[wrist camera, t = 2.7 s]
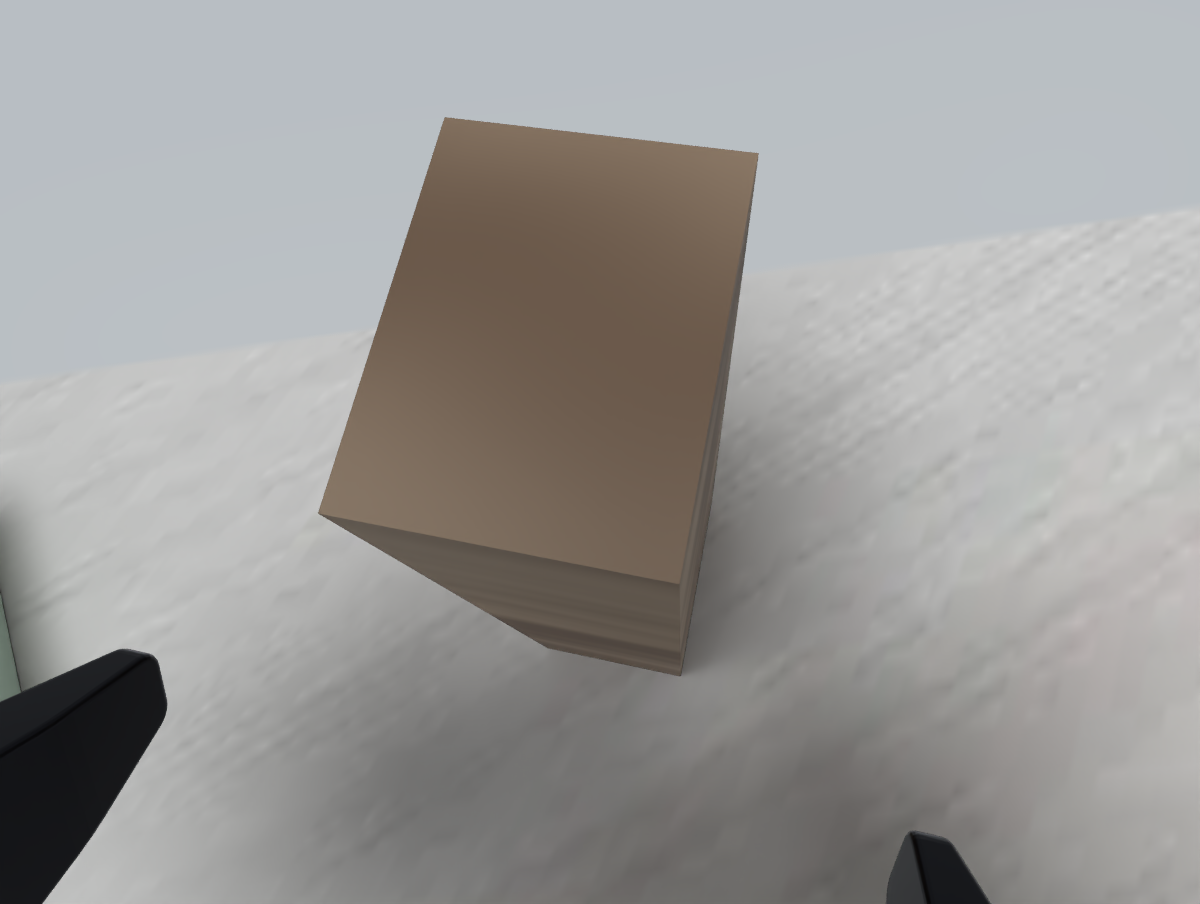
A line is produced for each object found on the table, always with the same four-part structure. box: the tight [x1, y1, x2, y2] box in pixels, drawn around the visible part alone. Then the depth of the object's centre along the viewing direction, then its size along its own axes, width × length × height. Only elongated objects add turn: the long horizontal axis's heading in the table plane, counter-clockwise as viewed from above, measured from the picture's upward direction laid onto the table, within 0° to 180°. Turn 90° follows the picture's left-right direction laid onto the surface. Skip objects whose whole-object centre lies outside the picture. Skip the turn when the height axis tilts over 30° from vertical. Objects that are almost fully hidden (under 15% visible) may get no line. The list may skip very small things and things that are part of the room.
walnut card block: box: [318, 117, 758, 676], centre depth 15 cm, size 4×3×14 cm
